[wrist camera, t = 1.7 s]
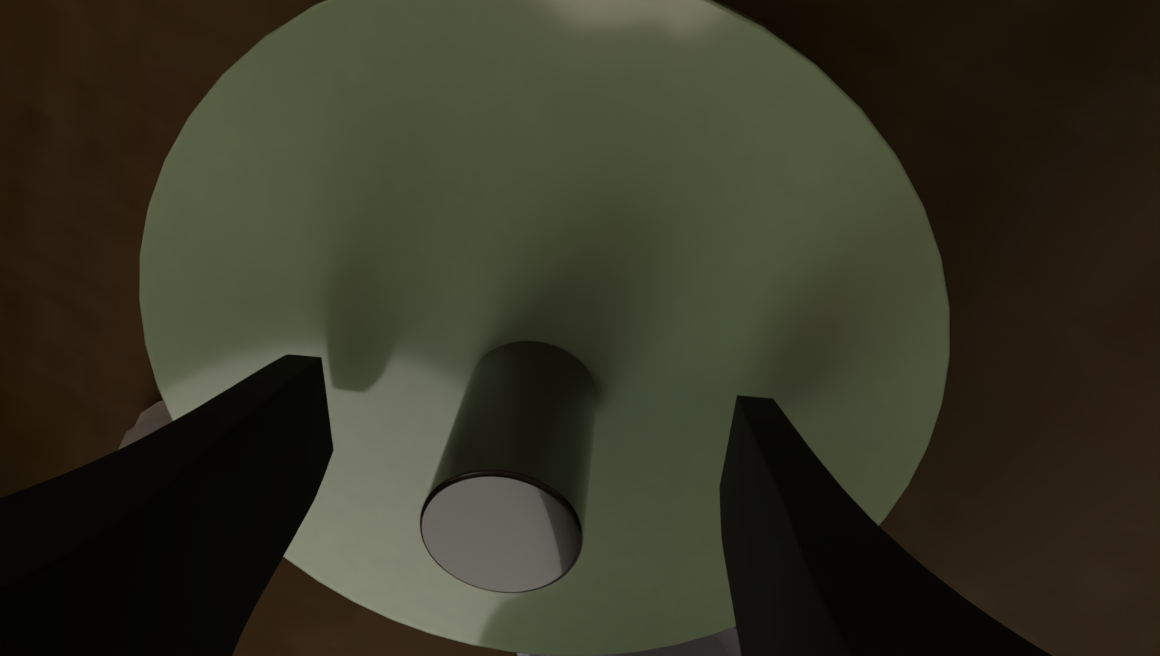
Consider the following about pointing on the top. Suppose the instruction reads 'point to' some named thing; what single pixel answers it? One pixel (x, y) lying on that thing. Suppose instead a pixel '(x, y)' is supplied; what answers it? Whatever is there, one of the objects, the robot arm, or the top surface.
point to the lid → (546, 297)
